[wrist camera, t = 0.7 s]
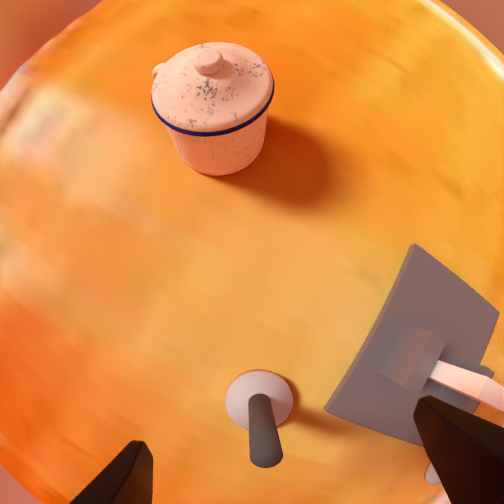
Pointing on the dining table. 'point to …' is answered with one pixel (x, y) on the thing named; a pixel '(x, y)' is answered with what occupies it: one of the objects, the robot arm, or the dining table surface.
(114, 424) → the dining table surface
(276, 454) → the post
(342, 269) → the dining table surface
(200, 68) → the teacup with lid
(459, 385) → the block
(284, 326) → the dining table surface
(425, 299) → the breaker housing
